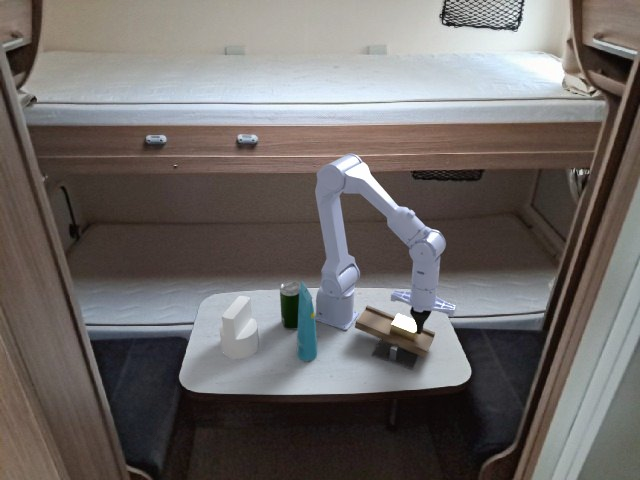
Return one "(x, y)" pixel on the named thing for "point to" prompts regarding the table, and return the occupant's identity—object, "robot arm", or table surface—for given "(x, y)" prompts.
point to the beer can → (289, 304)
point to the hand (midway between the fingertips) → (419, 331)
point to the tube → (306, 326)
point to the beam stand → (395, 354)
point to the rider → (404, 328)
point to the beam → (380, 327)
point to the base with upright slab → (239, 330)
